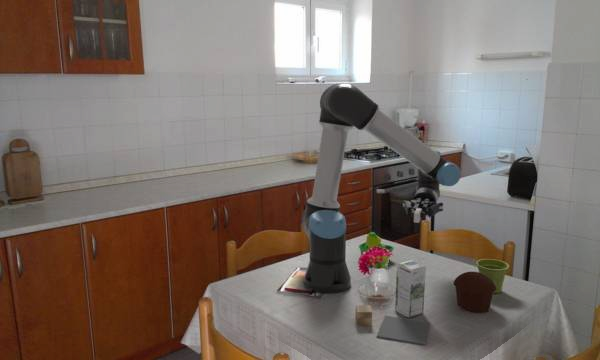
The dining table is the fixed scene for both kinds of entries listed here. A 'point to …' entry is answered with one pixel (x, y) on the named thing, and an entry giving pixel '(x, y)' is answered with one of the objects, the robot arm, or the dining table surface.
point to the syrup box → (410, 288)
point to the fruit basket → (373, 243)
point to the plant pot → (493, 271)
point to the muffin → (474, 292)
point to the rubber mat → (403, 330)
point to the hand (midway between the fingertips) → (416, 218)
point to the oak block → (363, 316)
